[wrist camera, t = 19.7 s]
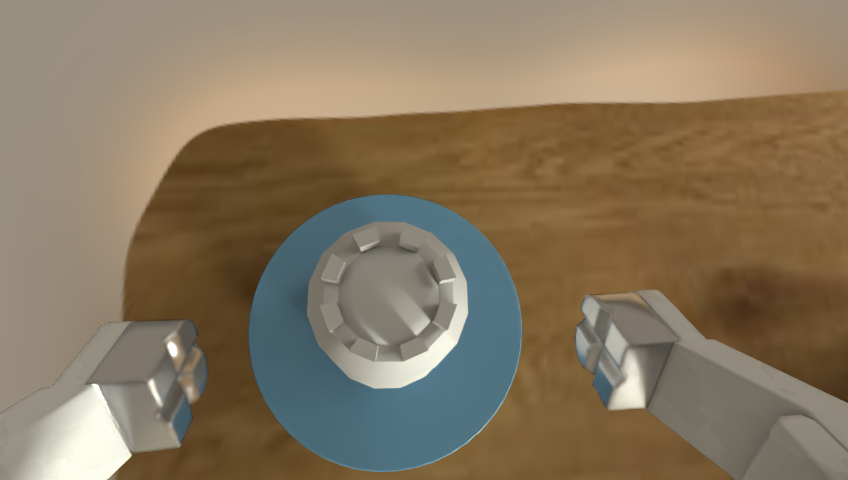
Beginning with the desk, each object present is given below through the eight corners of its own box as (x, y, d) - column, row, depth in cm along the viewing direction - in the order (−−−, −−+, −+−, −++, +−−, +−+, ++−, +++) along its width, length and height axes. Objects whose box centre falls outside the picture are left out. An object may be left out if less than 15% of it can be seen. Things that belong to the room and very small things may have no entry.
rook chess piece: (472, 305, 16) (551, 258, 8) (405, 414, 15) (426, 478, 7) (371, 239, 16) (358, 135, 9) (298, 341, 15) (207, 327, 7)
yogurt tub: (513, 324, 24) (573, 309, 16) (395, 474, 22) (400, 541, 14) (381, 210, 25) (379, 146, 17) (254, 342, 23) (186, 335, 15)
